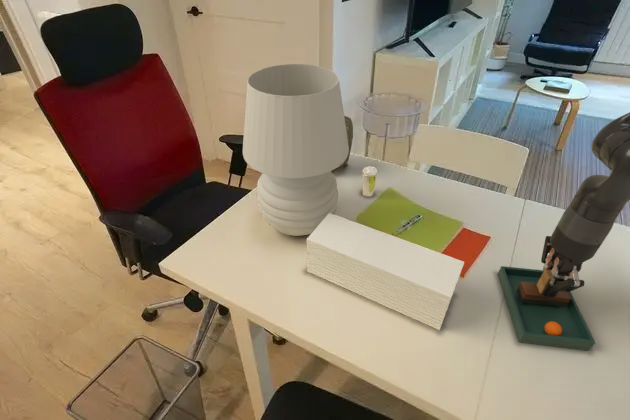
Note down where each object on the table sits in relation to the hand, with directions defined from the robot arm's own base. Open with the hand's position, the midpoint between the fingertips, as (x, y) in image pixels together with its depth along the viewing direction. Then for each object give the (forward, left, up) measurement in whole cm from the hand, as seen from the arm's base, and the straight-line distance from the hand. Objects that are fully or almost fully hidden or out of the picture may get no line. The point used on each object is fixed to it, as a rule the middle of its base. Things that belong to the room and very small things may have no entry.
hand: (545, 289), depth 79 cm
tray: (0, +2, -5) cm, 5 cm away
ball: (0, +8, -2) cm, 8 cm away
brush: (0, 0, -3) cm, 3 cm away
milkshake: (+38, -35, -5) cm, 52 cm away
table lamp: (+57, -19, -5) cm, 61 cm away
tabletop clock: (+52, -47, -5) cm, 71 cm away
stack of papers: (+35, -1, -5) cm, 35 cm away
